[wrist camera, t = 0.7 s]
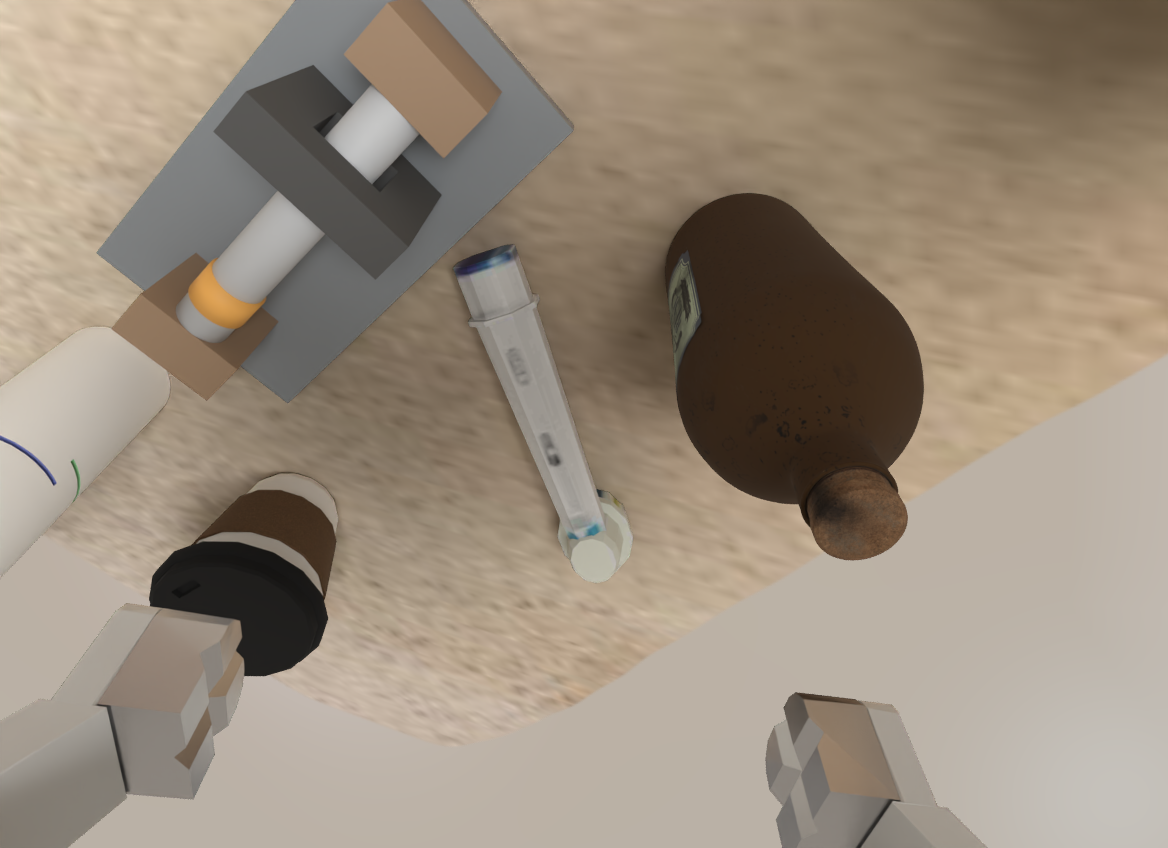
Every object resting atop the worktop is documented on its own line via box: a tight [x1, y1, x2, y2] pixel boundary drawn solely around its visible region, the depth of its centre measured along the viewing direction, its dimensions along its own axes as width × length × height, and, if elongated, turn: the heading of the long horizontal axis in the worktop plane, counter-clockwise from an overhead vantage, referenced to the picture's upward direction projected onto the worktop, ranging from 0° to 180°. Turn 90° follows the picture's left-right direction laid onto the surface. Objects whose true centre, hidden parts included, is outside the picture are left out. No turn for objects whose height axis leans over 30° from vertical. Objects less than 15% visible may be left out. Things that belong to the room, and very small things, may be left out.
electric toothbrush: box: [453, 244, 633, 583], centre depth 51 cm, size 5×7×25 cm
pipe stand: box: [97, 0, 574, 403], centre depth 41 cm, size 26×14×8 cm, turn 132°
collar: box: [213, 65, 441, 280], centre depth 38 cm, size 2×9×9 cm, turn 42°
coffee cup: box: [149, 473, 338, 676], centre depth 52 cm, size 11×11×12 cm
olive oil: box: [665, 193, 924, 560], centre depth 36 cm, size 11×11×25 cm
